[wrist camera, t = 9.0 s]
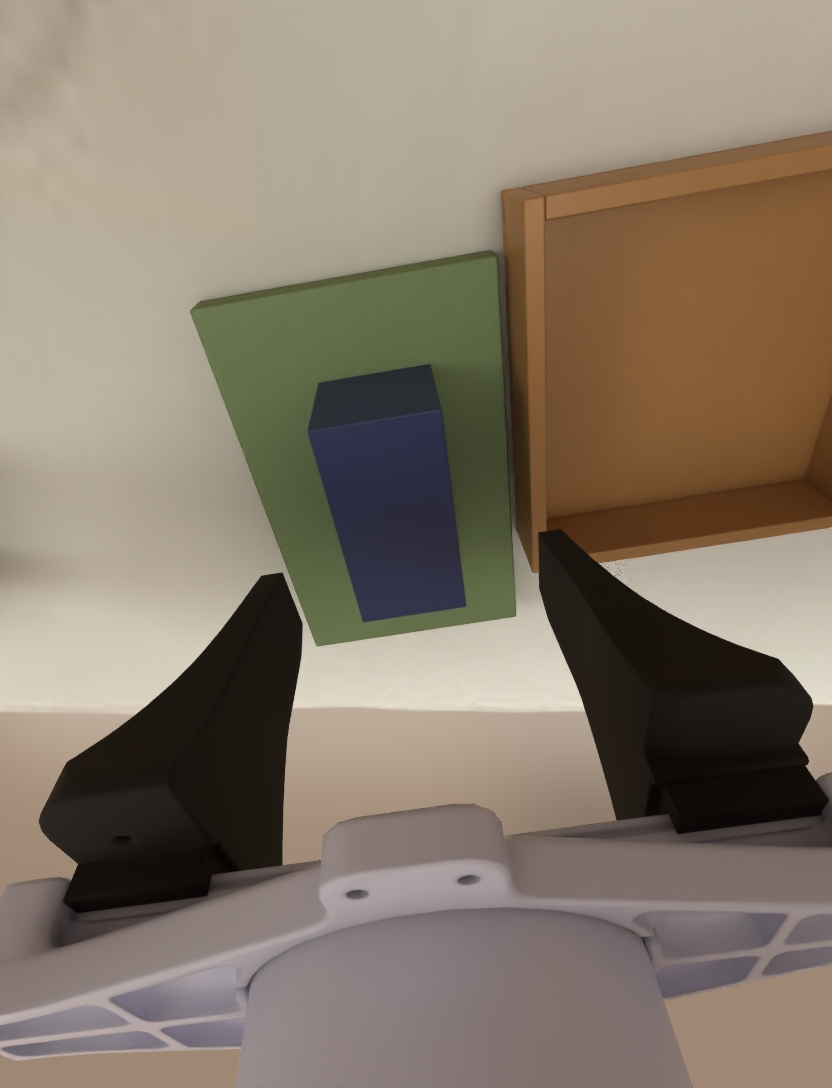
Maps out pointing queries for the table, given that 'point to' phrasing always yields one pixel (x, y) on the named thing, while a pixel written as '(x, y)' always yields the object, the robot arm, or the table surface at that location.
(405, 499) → the navy blue rectangular prism
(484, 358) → the flat green rectangular board
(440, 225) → the table surface
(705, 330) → the open box
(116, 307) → the table surface
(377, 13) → the table surface
